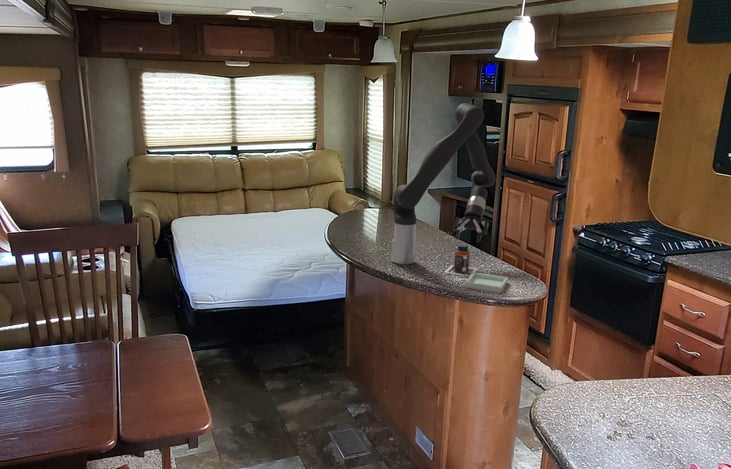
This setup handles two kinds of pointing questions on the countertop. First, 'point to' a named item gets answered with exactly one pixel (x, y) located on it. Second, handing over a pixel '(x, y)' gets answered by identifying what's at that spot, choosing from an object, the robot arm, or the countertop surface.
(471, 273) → the mat frame
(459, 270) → the supplement bottle
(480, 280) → the tray
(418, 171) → the robot arm
